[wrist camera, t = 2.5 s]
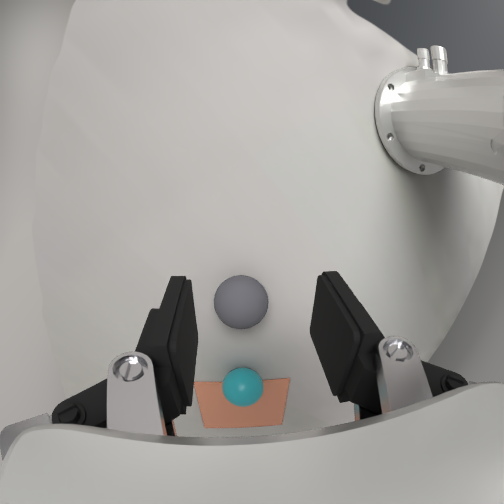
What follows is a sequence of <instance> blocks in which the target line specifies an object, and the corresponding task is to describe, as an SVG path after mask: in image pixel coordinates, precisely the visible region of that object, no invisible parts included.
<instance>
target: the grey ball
mask: <svg viewBox="0 0 504 504" xmlns="http://www.w3.org/2000/svg"><path fill="white" fill-rule="evenodd" d="M214 307H215V311H216V313H217V315H218V317H219V318H220V320H221V321H222V322H223V323H225V324H226V325H228V326H230V327H232V328H236V329H247V328H250V327H253V326H255V325H256V324H258V323H259V322H260V321H261V320H262V319H263V317H264V316H265V314H266V312H267V308H268V296H267V293H266V291H265V289H264V287H263V286H262V285H261V284H260V283H259V282H258V281H257V280H255V279H254V278H251V277H248V276H243V275H239V276H233V277H231V278H229V279H227V280H225V281H224V282H223V283H222V284H221V285H220V286H219V287H218V289H217V291H216V294H215V298H214Z"/></svg>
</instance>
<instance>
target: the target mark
mask: <svg viewBox="0 0 504 504" xmlns="http://www.w3.org/2000/svg"><path fill="white" fill-rule="evenodd" d="M262 381H263V387H264V389H263V394H262V396H261V398H260V399H259V400H258V401H257V402H256V403H254V404H253V405H250V406H246V407H240V406H236V405H233V404H232V403H230V402H229V401H228V400H227V399H226V398H225V396H224V394H223V391H222V384H223V382H194V386H195V390H196V394H197V399H198V403H199V407H200V411H201V415H202V419H203V423H204V427H205V428H242V427H260V426H272V425H282V421H283V416H284V410H285V405H286V399H287V393H288V387H289V381H290V378H285V379H273V380H262Z"/></svg>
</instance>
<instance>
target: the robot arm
mask: <svg viewBox="0 0 504 504" xmlns="http://www.w3.org/2000/svg"><path fill="white" fill-rule="evenodd" d="M417 53H418V60H419V67H417V68H415V67H406V68H402V69H398V70H396V71H394V72H392V73H390V74H389V75H388V76H387V77H386V78H385V79H384V80H383V82H382V83H381V85H380V87H379V90H378V92H377V96H376V101H375V119H376V126H377V129H378V133H379V136H380V138H381V141H382V143H383V145H384V147H385V149H386V150H387V152H388V153H389V155H390V156H391V157H392V158H393V159H394V161H395V162H396V163H397V164H399V165H400V166H401V167H403V168H404V169H406V170H408V171H410V172H413V173H417V174H421V175H430V174H435V173H437V172H439V171H441V170H442V169H443V168H445V167H447V168H451V169H455V170H458V171H462V172H465V173H469V174H472V175H475V176H478V177H481V178H484V179H488V180H490V181H493V182H496V183H499V184H502V185H504V70H485V71H472V72H462V73H454V74H450V73H448V72H447V54H446V49H445V48H443V47H440V46H431V55H432V61H433V69H434V70H432V69H431V68H430V64H429V61H430V59H429V51H428V50H427V49H424V48H418V49H417ZM387 135H388V138H387ZM310 335H311V338H312V341H313V343H314V346H315V348H316V351H317V354H318V356H319V359H320V362H321V364H322V367H323V370H324V372H325V375H326V378H327V380H328V383H329V386H330V389H331V391H332V394H333V395H334V396H338V399H339V402H340V403H342V402H347V401H350V402H352V403H354V412H355V421H354V422H350V423H345V424H340V425H336V426H330V427H325V428H320V429H314V430H307V431H301V432H293V433H285V434H276V435H265V436H251V437H225V438H203V437H178V436H177V435H176V430H175V426H174V421H173V419H175V418H176V417H178V416H179V415H180V414H186V406H191V405H192V396H193V385H194V375H195V365H196V355H197V346H198V331H197V324H196V316H195V308H194V300H193V292H192V283H191V280H186V276H171V278H170V281H169V283H168V286H167V289H166V292H165V294H164V297H163V300H162V303H161V306H160V309H151V310H150V312H149V315H148V317H147V320H146V323H145V325H144V328H143V331H142V334H141V336H140V339H139V342H138V345H137V347H136V350H135V352H126V353H123V354H120V355H118V356H117V357H115V358H114V359H113V360H112V361H111V363H110V364H109V367H108V376H107V379H105V380H103V381H102V382H100V383H98V384H96V385H94V386H92V387H90V388H88V389H86V390H84V391H82V392H80V393H78V394H76V395H74V396H72V397H70V398H68V399H66V400H64V401H63V402H61V403H60V404H58V405H57V407H56V408H55V409H54V411H53V413H52V415H51V416H49V415H48V414H47V413H45V414H42V415H40V416H37V417H34V418H30V419H27V420H25V421H21V422H18V423H15V424H12V425H9V426H7V427H5V428H4V429H3V430H2V431H1V434H0V449H1V455H2V460H3V463H2V465H1V468H0V504H504V383H501V382H481V383H475V382H469V383H467V381H466V380H465V378H463V377H462V376H461V375H459V374H457V373H455V372H452V371H449V370H446V369H443V368H441V367H438V366H435V365H432V364H430V363H427V362H424V361H421V360H420V357H419V354H418V352H417V349H416V348H415V346H414V345H413V344H412V343H411V342H410V341H408V340H407V339H405V338H402V337H397V336H390V337H386V338H385V337H384V336H383V334H382V333H381V331H380V330H379V329H378V327H377V326H376V324H375V323H374V321H373V320H372V318H371V317H370V315H369V314H368V313H367V311H366V310H365V308H364V307H363V306H362V304H361V303H360V302H359V301H358V299H357V298H356V296H355V295H354V294H353V292H352V291H351V289H350V288H349V287H348V285H347V284H346V283H345V281H344V280H343V278H342V277H341V276H340V274H339V273H338V272H337V271H328V272H323V273H322V275H319V276H318V278H317V285H316V292H315V299H314V306H313V313H312V319H311V325H310Z"/></svg>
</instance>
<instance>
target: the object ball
mask: <svg viewBox="0 0 504 504" xmlns="http://www.w3.org/2000/svg"><path fill="white" fill-rule="evenodd" d="M263 389H264V387H263V381H262V379H261V377H260V376H259V375H258V374H257V373H256V372H255V371H253V370H251V369H248V368H237V369H234V370H232V371H230V372H229V373H228V374H227V375H226V377H225V378H224V380H223V384H222V391H223V394H224V396H225V398H226V399H227V400H228V401H229V402H230V403H232V404H233V405H236V406H240V407H246V406H250V405H253V404H254V403H256V402H257V401H258V400H259V399H260V398H261V396H262V394H263Z"/></svg>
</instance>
